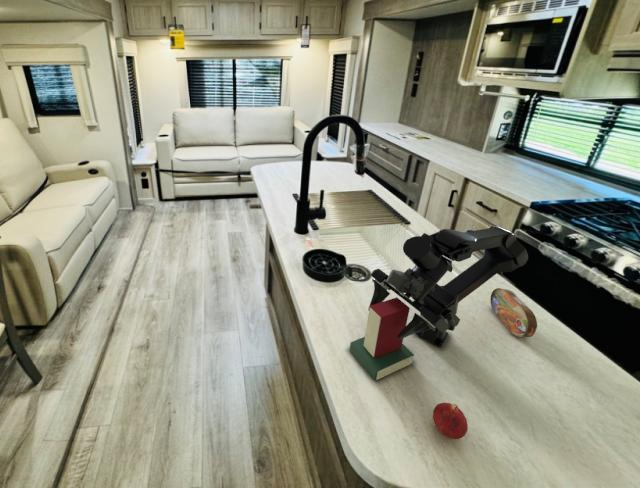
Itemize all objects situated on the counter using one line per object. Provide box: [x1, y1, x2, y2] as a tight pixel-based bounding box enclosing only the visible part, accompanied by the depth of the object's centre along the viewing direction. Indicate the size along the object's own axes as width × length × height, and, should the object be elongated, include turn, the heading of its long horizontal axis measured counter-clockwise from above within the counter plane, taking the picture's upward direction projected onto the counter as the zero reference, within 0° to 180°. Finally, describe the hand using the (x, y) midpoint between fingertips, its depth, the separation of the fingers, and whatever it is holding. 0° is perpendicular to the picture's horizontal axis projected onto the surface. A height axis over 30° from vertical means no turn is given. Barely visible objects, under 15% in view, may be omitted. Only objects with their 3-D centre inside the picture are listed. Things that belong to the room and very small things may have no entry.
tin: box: [489, 287, 538, 338], centre depth 88 cm, size 15×3×8 cm, turn 171°
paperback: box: [364, 297, 411, 358], centre depth 77 cm, size 9×4×13 cm, turn 109°
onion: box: [432, 402, 469, 440], centre depth 62 cm, size 6×6×8 cm
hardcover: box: [349, 336, 415, 381], centre depth 79 cm, size 12×9×3 cm
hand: (383, 323), depth 76 cm, fingers open, 9 cm apart
